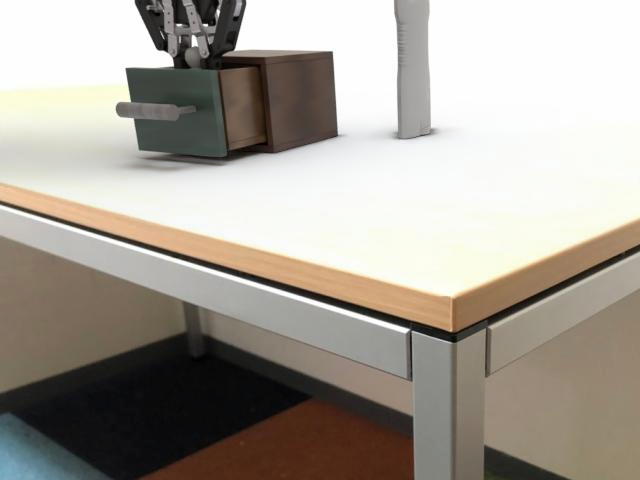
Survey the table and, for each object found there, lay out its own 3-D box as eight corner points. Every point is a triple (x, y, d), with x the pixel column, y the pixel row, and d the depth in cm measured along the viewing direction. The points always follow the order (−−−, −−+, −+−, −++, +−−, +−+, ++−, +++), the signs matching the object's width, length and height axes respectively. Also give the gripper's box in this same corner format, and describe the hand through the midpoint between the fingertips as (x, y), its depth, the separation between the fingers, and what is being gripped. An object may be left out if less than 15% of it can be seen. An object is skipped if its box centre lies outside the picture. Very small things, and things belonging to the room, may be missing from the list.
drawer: (192, 164, 76) (179, 73, 73) (108, 157, 80) (92, 70, 77) (291, 139, 91) (285, 62, 88) (216, 134, 95) (207, 60, 92)
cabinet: (274, 153, 88) (265, 56, 83) (189, 146, 92) (176, 54, 88) (338, 135, 100) (333, 51, 96) (260, 130, 104) (252, 49, 100)
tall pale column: (415, 139, 96) (412, -52, 88) (386, 138, 98) (379, -51, 89) (441, 128, 106) (440, -46, 97) (414, 127, 107) (410, -45, 98)
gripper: (257, -81, 78) (272, 93, 85) (153, -76, 83) (175, 88, 90) (209, -90, 71) (230, 99, 78) (99, -83, 76) (128, 93, 83)
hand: (200, 92), depth 84 cm, fingers closed on chess piece, 3 cm apart
